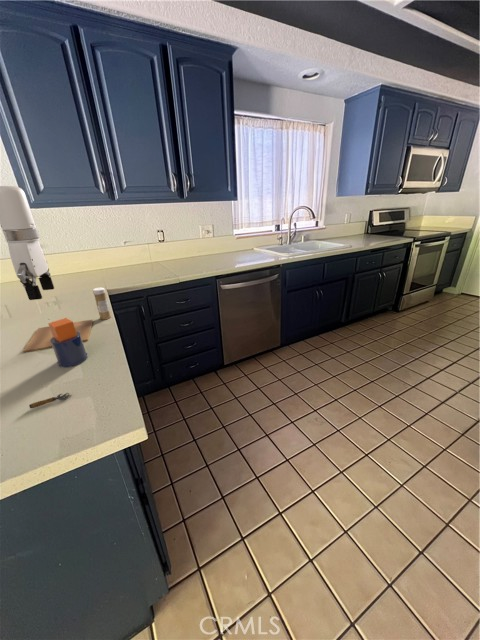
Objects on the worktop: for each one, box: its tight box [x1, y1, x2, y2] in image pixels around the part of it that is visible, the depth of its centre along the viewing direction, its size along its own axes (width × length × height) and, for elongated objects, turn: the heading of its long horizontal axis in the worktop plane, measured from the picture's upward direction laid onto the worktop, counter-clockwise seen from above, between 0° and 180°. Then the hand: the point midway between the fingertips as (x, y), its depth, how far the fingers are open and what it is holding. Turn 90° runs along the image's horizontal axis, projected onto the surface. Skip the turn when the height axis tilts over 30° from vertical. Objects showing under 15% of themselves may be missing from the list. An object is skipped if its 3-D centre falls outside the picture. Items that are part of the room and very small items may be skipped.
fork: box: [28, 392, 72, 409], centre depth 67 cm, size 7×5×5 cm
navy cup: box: [50, 331, 89, 368], centre depth 84 cm, size 8×8×8 cm
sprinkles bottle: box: [92, 287, 112, 320], centre depth 114 cm, size 5×5×14 cm
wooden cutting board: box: [22, 319, 94, 353], centre depth 103 cm, size 20×20×1 cm
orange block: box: [47, 317, 77, 342], centre depth 81 cm, size 5×5×5 cm
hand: (42, 294), depth 81 cm, fingers open, 9 cm apart
